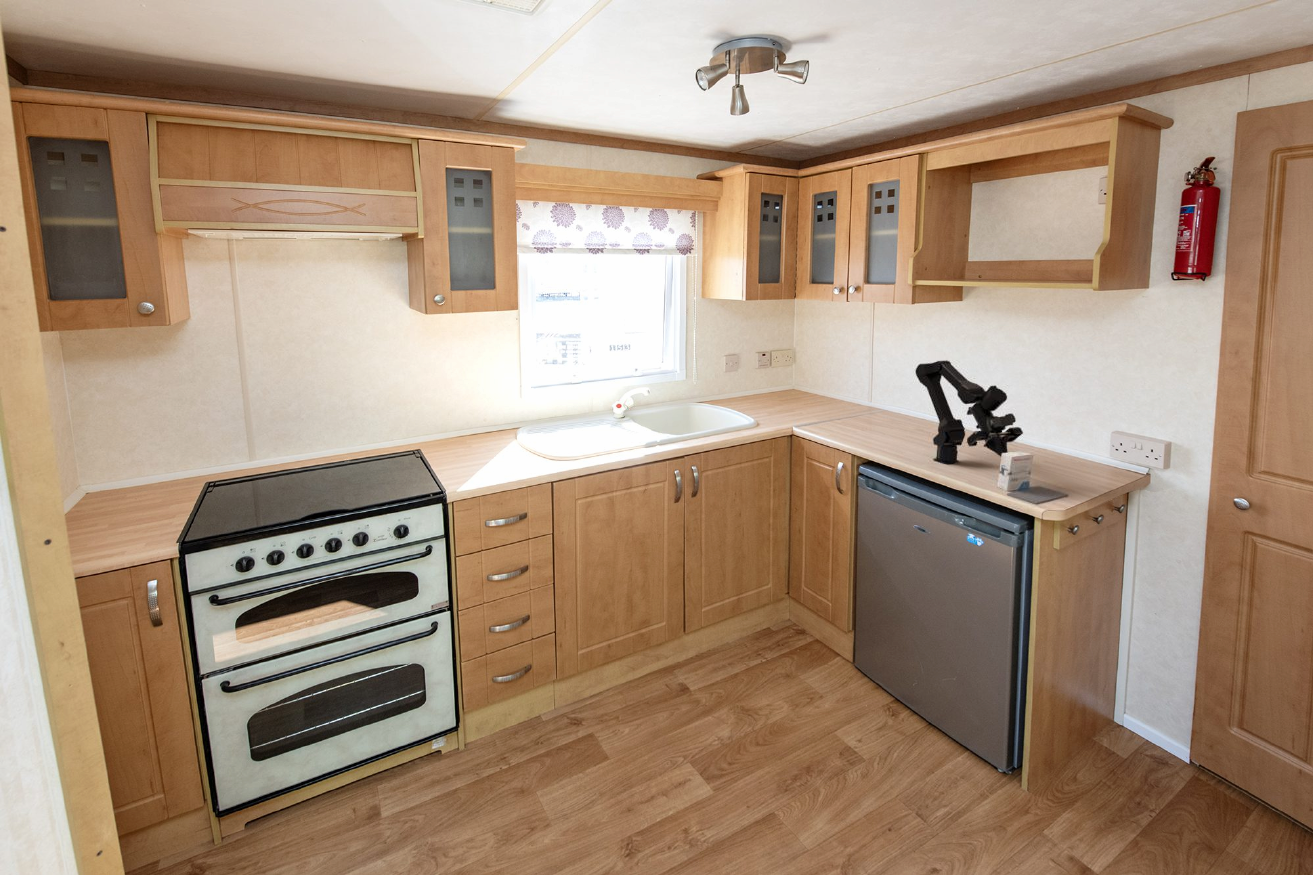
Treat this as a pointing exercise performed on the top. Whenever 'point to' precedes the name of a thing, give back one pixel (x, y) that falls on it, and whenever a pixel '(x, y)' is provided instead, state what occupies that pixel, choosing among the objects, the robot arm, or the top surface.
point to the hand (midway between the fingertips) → (1006, 458)
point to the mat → (1037, 494)
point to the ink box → (1015, 470)
